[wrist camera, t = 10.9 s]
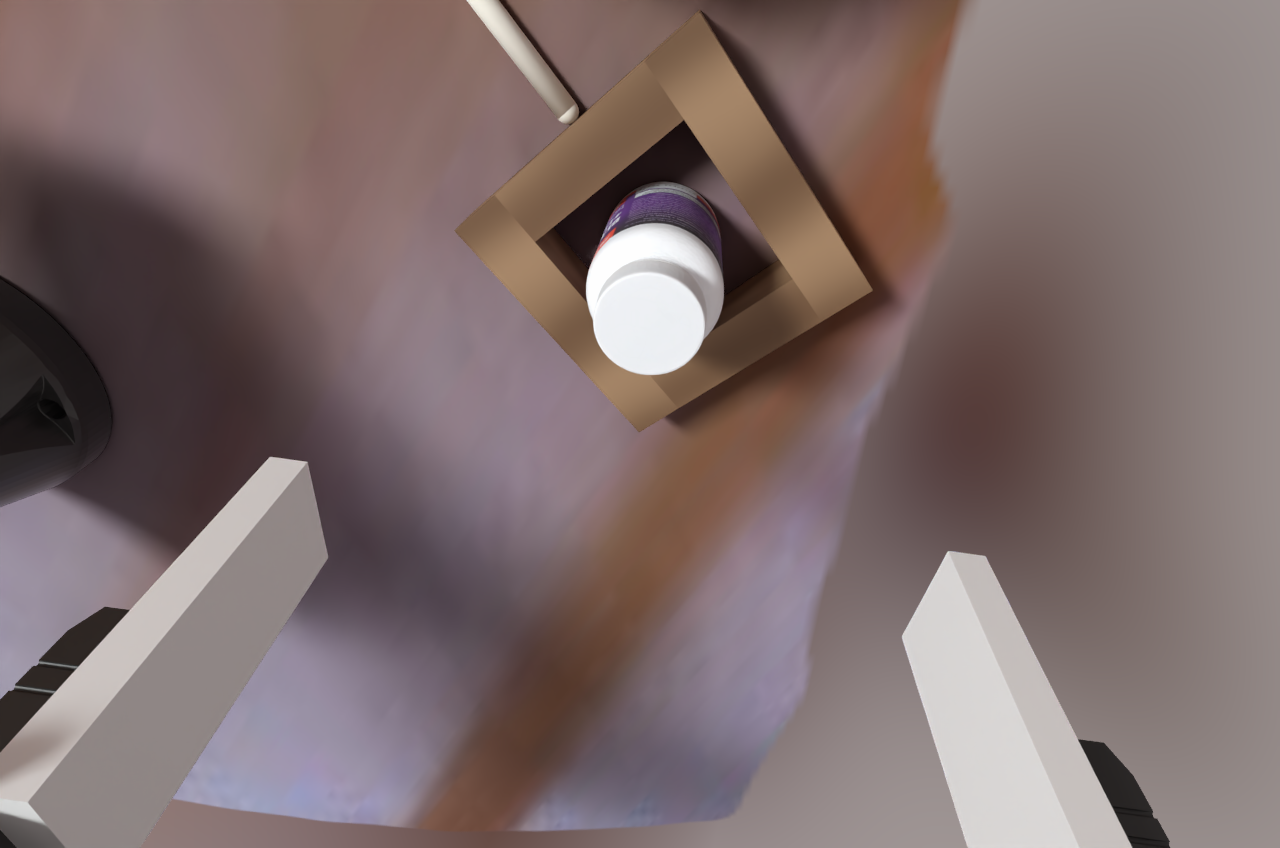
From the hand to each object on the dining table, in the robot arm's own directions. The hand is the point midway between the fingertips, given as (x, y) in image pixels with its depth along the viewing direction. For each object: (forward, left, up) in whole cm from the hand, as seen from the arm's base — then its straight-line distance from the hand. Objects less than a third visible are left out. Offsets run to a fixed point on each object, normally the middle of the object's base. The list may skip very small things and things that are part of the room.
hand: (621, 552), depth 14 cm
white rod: (-12, 0, -21) cm, 24 cm away
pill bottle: (0, 0, -21) cm, 21 cm away
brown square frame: (0, 0, -21) cm, 21 cm away
